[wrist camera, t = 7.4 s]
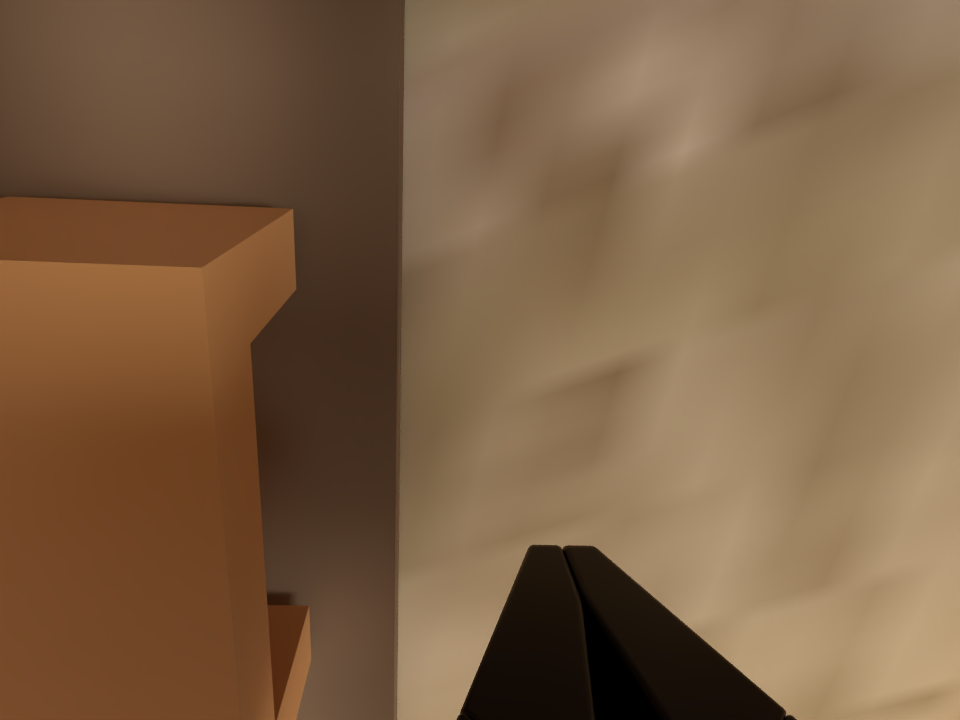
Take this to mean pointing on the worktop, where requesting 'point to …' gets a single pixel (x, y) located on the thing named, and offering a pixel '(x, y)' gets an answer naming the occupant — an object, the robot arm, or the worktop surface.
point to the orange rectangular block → (138, 463)
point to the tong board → (318, 254)
